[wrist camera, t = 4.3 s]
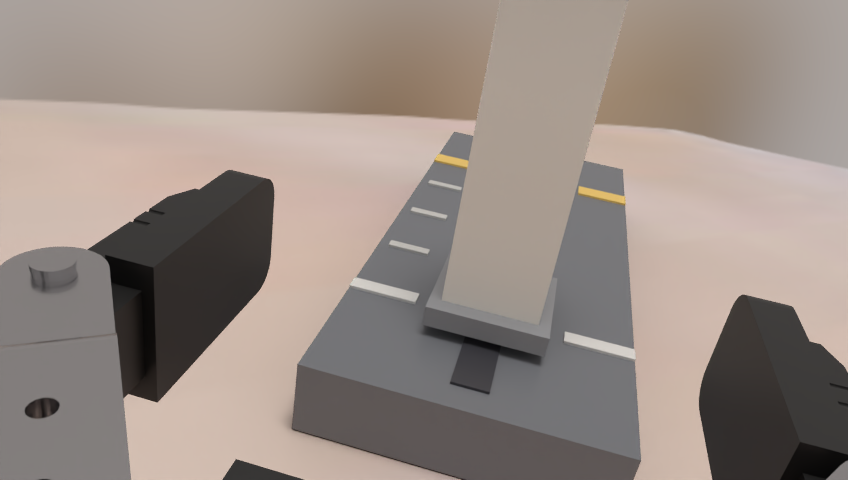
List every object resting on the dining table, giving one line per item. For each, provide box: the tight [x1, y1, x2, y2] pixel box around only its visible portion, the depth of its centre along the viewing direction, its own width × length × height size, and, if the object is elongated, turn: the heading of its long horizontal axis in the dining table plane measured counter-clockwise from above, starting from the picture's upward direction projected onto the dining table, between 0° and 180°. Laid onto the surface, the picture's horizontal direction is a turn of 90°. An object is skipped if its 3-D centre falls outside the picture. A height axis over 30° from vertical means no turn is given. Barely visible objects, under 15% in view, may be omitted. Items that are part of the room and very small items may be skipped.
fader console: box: [292, 132, 641, 480], centre depth 31 cm, size 24×10×3 cm, turn 166°
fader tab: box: [422, 0, 628, 357], centre depth 21 cm, size 4×4×13 cm
